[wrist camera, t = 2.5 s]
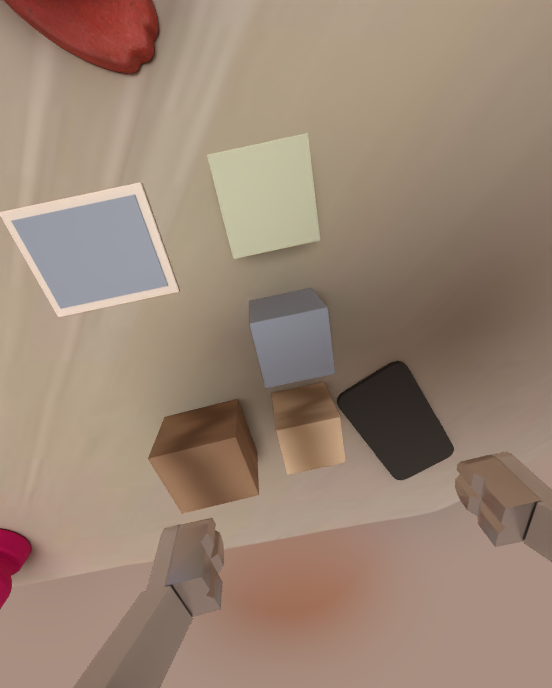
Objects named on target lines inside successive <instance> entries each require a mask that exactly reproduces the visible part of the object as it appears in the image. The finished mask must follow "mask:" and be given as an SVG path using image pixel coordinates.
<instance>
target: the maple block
mask: <svg viewBox="0 0 552 688" xmlns="http://www.w3.org/2000/svg"><path fill="white" fill-rule="evenodd" d="M271 394H272V402H273V409H274V417H275V425H276V432H277V435H278V439H279V443H280V447H281V451H282V455H283V459H284V463H285V467H286V471H287V475H289V474H293V473H298V472H303V471H307V470H312V469H317V468H321V467H326V466H331V465H335V464H340V463H345V455H344V446H343V438H342V429H341V421H340V416H339V414H338V411H337V409H336V407H335V405H334V402H333V400H332V398H331V396H330V393H329V391H328V389H327V387H326V385H325V382H321V383H317V384H312V385H307V386H303V387H298V388H293V389H289V390H284V391H279V392H275V393H271Z"/></svg>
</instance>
